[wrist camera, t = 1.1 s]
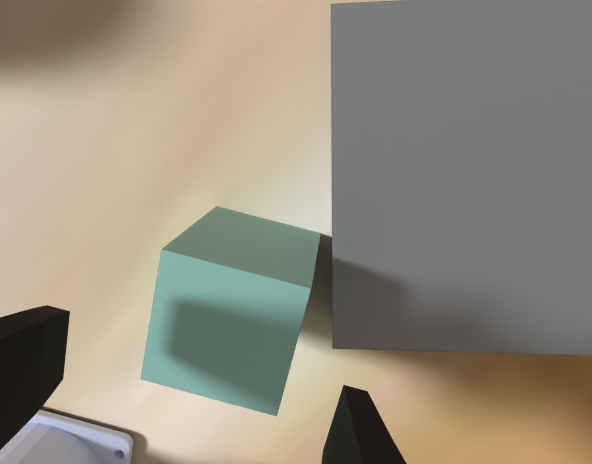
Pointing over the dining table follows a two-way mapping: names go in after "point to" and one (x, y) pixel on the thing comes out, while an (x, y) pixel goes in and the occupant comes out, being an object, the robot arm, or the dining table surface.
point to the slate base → (462, 176)
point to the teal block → (230, 308)
